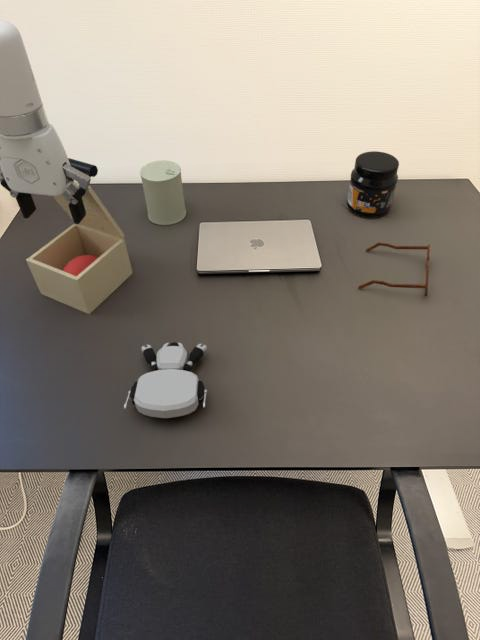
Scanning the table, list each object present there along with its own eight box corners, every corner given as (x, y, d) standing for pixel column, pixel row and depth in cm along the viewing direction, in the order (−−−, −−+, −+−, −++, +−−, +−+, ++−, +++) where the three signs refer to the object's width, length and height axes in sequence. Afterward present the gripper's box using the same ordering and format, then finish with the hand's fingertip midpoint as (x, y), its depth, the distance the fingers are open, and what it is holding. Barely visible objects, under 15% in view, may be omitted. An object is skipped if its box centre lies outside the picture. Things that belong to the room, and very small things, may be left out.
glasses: (426, 301, 90) (433, 282, 87) (357, 289, 93) (362, 270, 90) (428, 260, 99) (434, 241, 95) (365, 249, 102) (369, 230, 98)
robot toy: (142, 355, 83) (127, 426, 72) (137, 337, 80) (121, 408, 69) (210, 354, 83) (206, 425, 72) (209, 336, 80) (204, 406, 69)
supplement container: (337, 209, 113) (344, 162, 104) (360, 191, 118) (368, 145, 110) (376, 225, 108) (387, 177, 99) (398, 205, 113) (410, 159, 105)
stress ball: (61, 283, 97) (48, 273, 91) (93, 253, 98) (82, 241, 92) (78, 299, 96) (66, 290, 90) (110, 269, 97) (100, 257, 91)
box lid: (87, 189, 78) (106, 162, 80) (32, 172, 83) (52, 147, 84) (123, 238, 91) (138, 214, 93) (73, 221, 95) (89, 199, 97)
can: (175, 228, 109) (168, 182, 100) (140, 220, 111) (131, 174, 102) (192, 208, 114) (187, 162, 106) (159, 200, 117) (152, 155, 108)
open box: (89, 314, 90) (76, 280, 83) (41, 294, 94) (25, 259, 88) (132, 273, 98) (124, 239, 92) (86, 256, 102) (75, 222, 96)
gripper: (-47, 125, 69) (-1, 223, 81) (61, 134, 66) (91, 235, 78) (-17, 105, 74) (22, 200, 86) (84, 113, 71) (109, 210, 83)
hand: (55, 216), depth 82 cm, fingers open, 9 cm apart
